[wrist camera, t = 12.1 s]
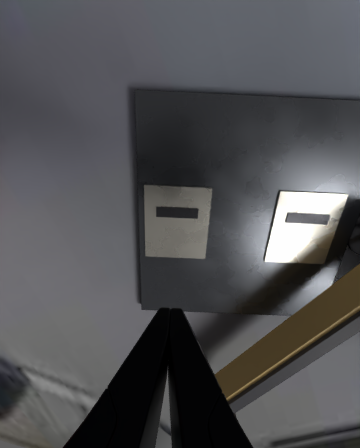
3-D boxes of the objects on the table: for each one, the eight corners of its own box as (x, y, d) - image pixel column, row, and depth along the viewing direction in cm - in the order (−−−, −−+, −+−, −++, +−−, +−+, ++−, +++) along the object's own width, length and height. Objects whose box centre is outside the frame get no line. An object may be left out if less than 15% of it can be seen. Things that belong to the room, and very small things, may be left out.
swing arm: (394, 203, 16) (465, 226, 12) (419, 230, 17) (495, 260, 13) (195, 365, 23) (198, 414, 19) (220, 379, 24) (228, 428, 20)
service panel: (466, 107, 14) (484, 106, 13) (365, 314, 21) (372, 321, 20) (136, 91, 14) (133, 88, 13) (142, 304, 21) (140, 311, 20)
